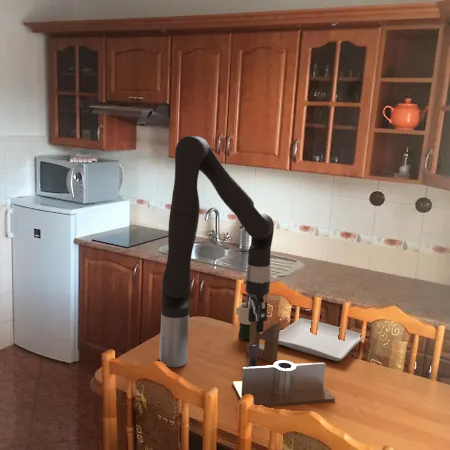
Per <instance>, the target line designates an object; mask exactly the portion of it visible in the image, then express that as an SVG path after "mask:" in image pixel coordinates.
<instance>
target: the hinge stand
mask: <svg viewBox="0 0 450 450" xmlns="http://www.w3.org/2000/svg"><path fill="white" fill-rule="evenodd" d="M325 372H326V363H325V362H313V363H294V362H292V361H288V360H276V361H274V362H273V365H262V366H261V365H260V366H258V365H257V367H248V366H244V367H242V376H241V378H242V379H241V380H239V381H237V380H236V381H232V387H233V388H234V390H235V392H236V394H237V397H238V398H239V400H240V399H241V398H242V397H243V396H244V395H245V394H251V395H253V397H254V404H255V405H263V406H266V407H265V408H267V407H270V408H271V407H281V406H283V407H284V406H295V405H307V404H319V403H320V404H321V403H333V402H336V398H335V396H334V395H333V394H332V393H331V392H330V390H329V389H328V388H327V387H326V385H325V383H324V380H325Z"/></svg>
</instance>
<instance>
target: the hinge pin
mask: <svg viewBox="0 0 450 450" xmlns="http://www.w3.org/2000/svg"><path fill="white" fill-rule="evenodd" d="M257 355H258V345H257V344H250V345H249V354H248V361H247V367H258V357H257Z"/></svg>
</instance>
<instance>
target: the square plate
mask: <svg viewBox="0 0 450 450" xmlns="http://www.w3.org/2000/svg"><path fill="white" fill-rule="evenodd" d="M297 320H298V322H297ZM297 320H295V321H294V322H292V323H291V324H290V325H288V326H286V327H285V328H284V329H282V330H280V331H279V340H278V345H281V346H284V347H287V348H290V349H292V350H295V351H298V352H302V353H306V354H309V355H313V356H316V357H320V358H323V359H326V360H331V361H334V362H341V361H342V360H343V359H344V358H345V357H347V355H348V354H349V353H350V352H351V350H352V349H354V348H355V347H356V346H357V345H359V343H361V342H362V341H363V339H364V337H361V338H360V335H361V334H362V333H360V332H356V331H353V330H350V329H346V335H345V341H343V340H339V339H338V335H339V328H341V327H339V326H336V325H331V324H330V323H329V324H328V323H325V322H320V321H318V322H319V323H318V330H317V335H314V334H312V333H311V332H310V328H311V321H313V320H311V319H307V318H303V317H302V318H301V317H300V318H298V319H297Z"/></svg>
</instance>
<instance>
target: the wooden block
mask: <svg viewBox="0 0 450 450" xmlns="http://www.w3.org/2000/svg"><path fill="white" fill-rule="evenodd" d="M257 311H258V310H257ZM280 323H281V322H280V321H278V322H275V323H273V324H272V325H271V326H269V327H267V329H265V330H263V332H256V316H255V321H254V322H251V324H250V339H249V342H248V343H247V344H246V354H248V355H249V345H250V344H257V345H258V355H257V359H261V360H263V361H265V362H269V363H271V364H272V363H275V362H277V361H278V360H277V359H278V352H279V351H278V346H279V344H278V340H279V332H280ZM260 341H264V344H261V343H260Z"/></svg>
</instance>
